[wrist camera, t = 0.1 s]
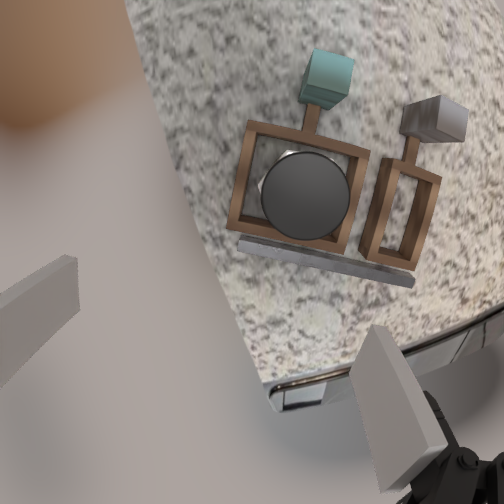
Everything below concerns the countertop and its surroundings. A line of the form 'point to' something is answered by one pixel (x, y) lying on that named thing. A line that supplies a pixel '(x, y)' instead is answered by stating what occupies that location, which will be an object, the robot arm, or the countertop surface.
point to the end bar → (324, 261)
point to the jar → (304, 195)
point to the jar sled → (316, 97)
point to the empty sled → (417, 130)
